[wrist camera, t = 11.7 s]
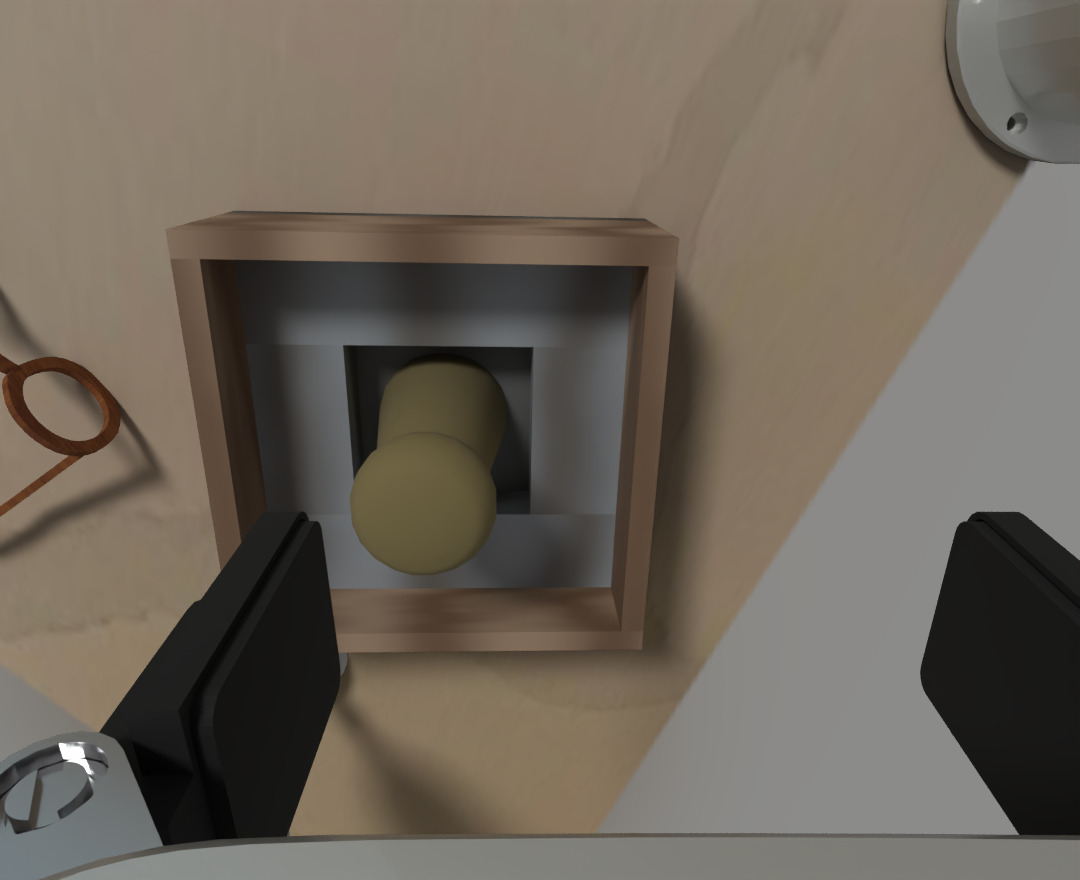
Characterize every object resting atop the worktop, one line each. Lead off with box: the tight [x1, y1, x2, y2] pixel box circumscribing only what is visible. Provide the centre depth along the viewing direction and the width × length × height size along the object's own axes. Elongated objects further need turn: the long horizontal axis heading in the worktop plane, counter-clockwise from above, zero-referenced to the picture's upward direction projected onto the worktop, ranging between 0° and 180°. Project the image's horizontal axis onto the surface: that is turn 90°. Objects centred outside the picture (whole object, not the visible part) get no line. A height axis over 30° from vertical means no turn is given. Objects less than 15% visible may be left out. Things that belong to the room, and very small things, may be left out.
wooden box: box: [166, 211, 679, 653], centre depth 33 cm, size 18×18×7 cm
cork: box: [350, 353, 508, 575], centre depth 30 cm, size 6×6×11 cm
